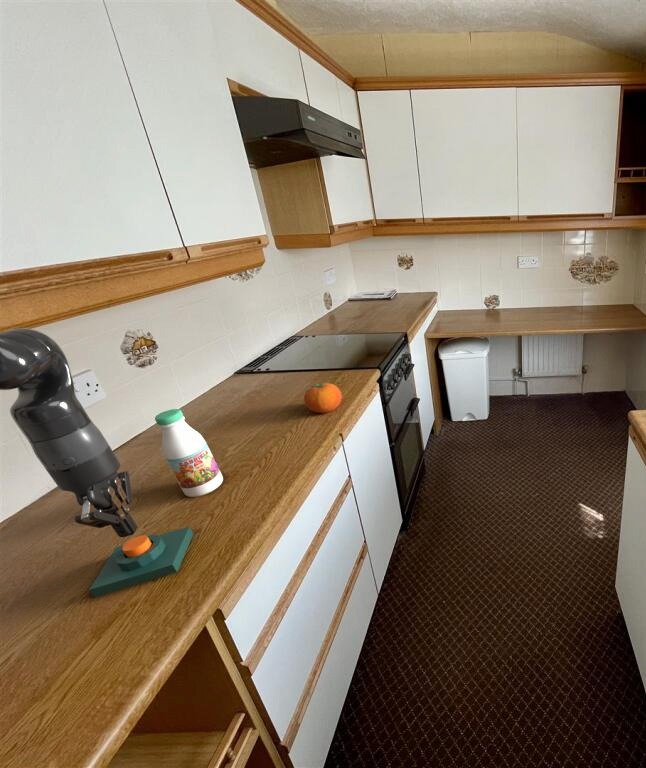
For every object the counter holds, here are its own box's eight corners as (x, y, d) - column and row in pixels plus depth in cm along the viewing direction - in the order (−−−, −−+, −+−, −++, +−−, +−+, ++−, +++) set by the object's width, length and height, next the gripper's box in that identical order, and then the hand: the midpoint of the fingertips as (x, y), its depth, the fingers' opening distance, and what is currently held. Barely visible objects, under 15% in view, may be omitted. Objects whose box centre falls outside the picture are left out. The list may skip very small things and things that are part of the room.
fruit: (349, 409, 126) (342, 386, 122) (314, 421, 120) (306, 398, 116) (337, 398, 133) (331, 376, 130) (304, 409, 128) (297, 386, 124)
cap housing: (95, 598, 70) (83, 582, 68) (121, 555, 78) (110, 540, 76) (178, 573, 73) (168, 557, 71) (194, 534, 82) (185, 519, 80)
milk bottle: (176, 495, 93) (135, 421, 85) (208, 474, 100) (172, 403, 91) (201, 500, 91) (161, 424, 82) (231, 478, 98) (197, 406, 89)
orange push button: (123, 560, 72) (118, 553, 71) (131, 546, 75) (127, 539, 74) (147, 553, 73) (143, 546, 72) (154, 539, 76) (150, 532, 75)
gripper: (69, 439, 69) (120, 515, 77) (18, 485, 58) (84, 569, 66) (123, 427, 71) (167, 503, 79) (84, 470, 60) (140, 553, 68)
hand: (129, 533), depth 72 cm, fingers closed
